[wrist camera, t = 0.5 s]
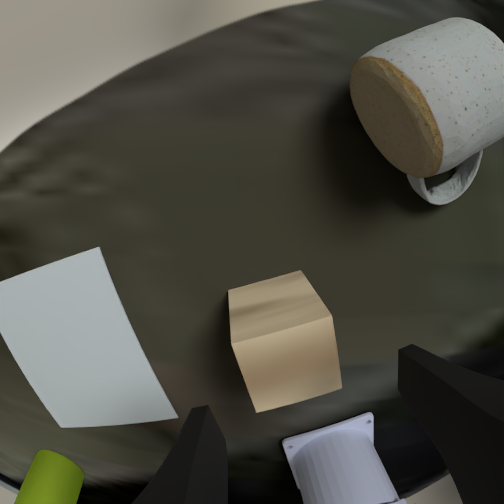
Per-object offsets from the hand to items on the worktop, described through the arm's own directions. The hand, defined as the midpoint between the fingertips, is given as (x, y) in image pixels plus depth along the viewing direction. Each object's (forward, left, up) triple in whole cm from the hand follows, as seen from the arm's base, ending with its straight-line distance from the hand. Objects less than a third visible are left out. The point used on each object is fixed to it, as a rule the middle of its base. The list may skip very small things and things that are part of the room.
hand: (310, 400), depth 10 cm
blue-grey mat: (-1, +15, -9) cm, 18 cm away
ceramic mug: (+9, -12, -10) cm, 18 cm away
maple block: (-1, 0, -9) cm, 9 cm away
